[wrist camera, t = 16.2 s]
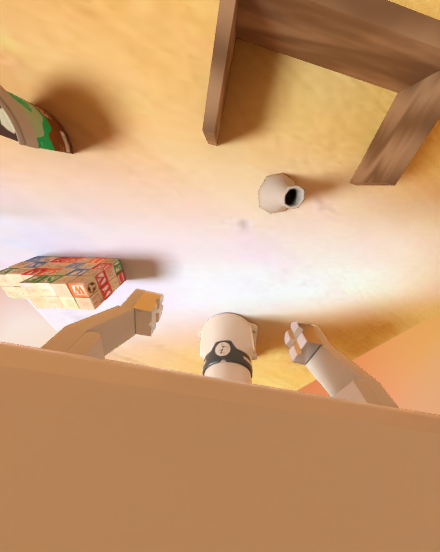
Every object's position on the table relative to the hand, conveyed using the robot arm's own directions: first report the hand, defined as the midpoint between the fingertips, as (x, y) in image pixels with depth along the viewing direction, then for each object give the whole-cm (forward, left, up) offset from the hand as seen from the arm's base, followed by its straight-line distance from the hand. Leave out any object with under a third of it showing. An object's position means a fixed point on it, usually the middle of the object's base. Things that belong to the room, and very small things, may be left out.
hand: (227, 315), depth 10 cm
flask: (+3, -11, -29) cm, 31 cm away
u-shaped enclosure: (+14, -16, -29) cm, 36 cm away
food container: (+23, +28, -29) cm, 47 cm away
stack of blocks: (-4, +39, -30) cm, 49 cm away
